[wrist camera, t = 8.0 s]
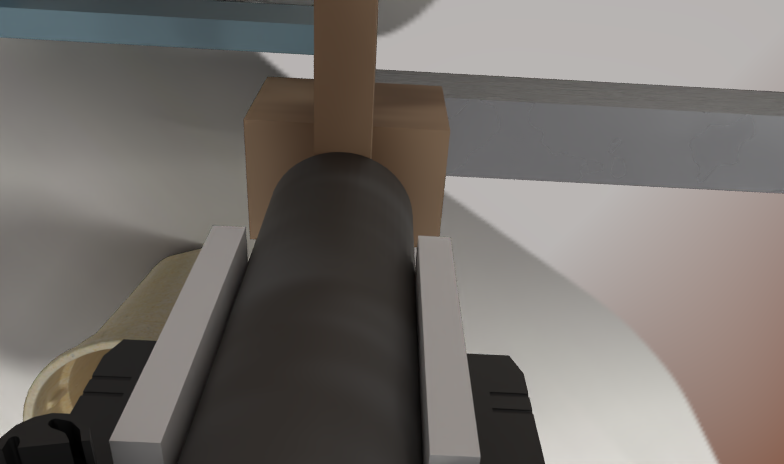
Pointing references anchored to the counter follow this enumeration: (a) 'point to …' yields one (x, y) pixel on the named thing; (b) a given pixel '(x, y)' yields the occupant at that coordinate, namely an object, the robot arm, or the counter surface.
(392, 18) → the counter surface
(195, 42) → the frame
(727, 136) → the rail
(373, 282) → the pusher
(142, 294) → the flower pot
